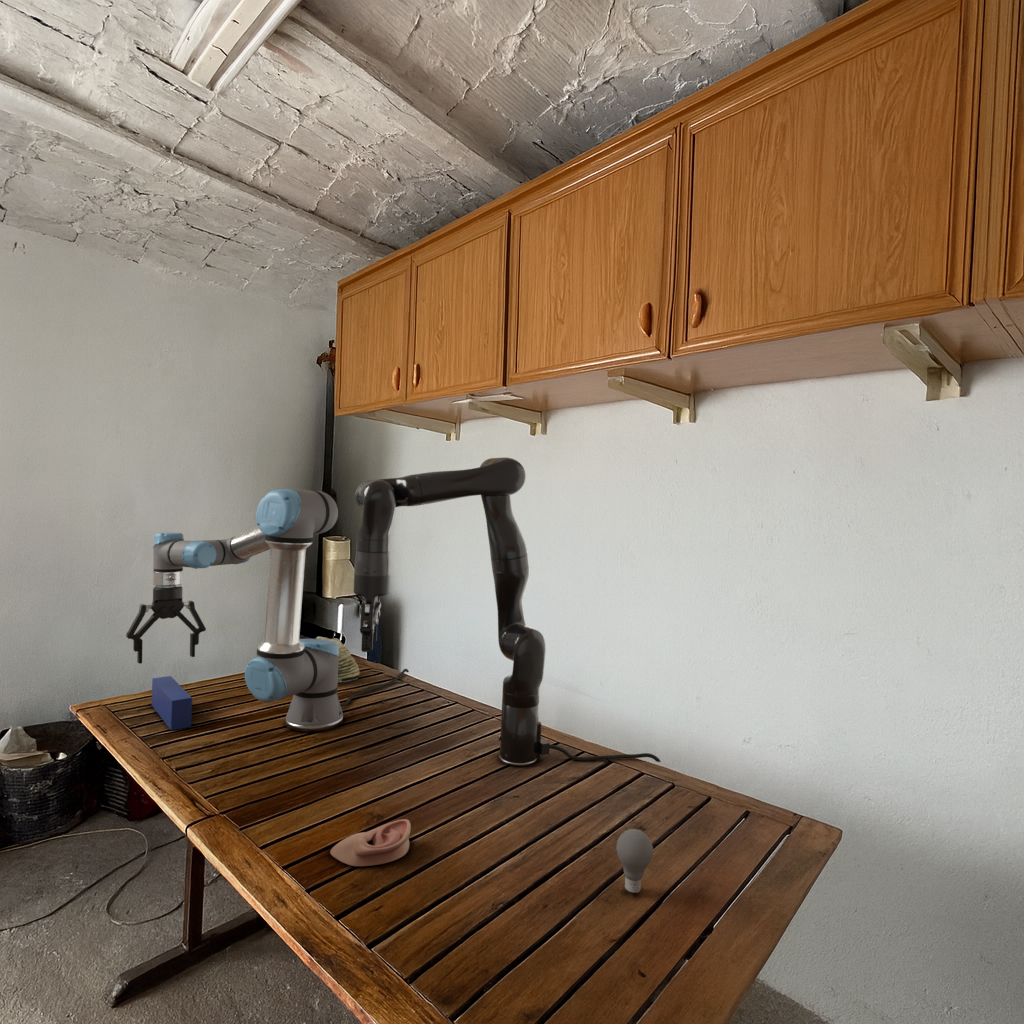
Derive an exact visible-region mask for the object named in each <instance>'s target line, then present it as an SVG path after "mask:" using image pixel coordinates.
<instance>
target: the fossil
mask: <svg viewBox="0 0 1024 1024" xmlns="http://www.w3.org/2000/svg"><path fill="white" fill-rule="evenodd" d="M315 639H322V640H329V641H333V642H335V643H337V645H338V647H339V664H338V683H347V682H351V681H355V680H358V679H359V677H360V675H361V672H360V668H359V665H358V663H357V662H356V659H355V658H354V657H353V656H352V654H351V652H350V650H349V649H348V648H347V646H346V645H345V644H344V643H342V641H341V640H340V639H339V638H336V637H334V638H328V637H326V636H325V637H323V636H317V637H315Z"/></svg>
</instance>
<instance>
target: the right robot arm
mask: <svg viewBox="0 0 1024 1024" xmlns="http://www.w3.org/2000/svg"><path fill="white" fill-rule="evenodd" d="M526 480H527V474H526V470H525V468H524V466H523V465H522V464H521V462H519V461H518V460H517V459H515V458H511V457H490V458H488V459H485V460H484V461H482V463H481V464H480V466H477V467H475V468H467V469H457V470H456V469H455V470H440V471H439V470H438V471H429V472H422V473H414V474H409V475H408V474H407V475H404V476H400V477H393V478H392V477H391V478H379V479H369V480H365V481H364V482H362V483H361V484H359V485H358V487H357V488H356V490H355V493H354V500H355V503H356V505H357V506H358V507H359V509H361V510H363V512H362V519H361V524H360V525H359V526H358V528H357V532H356V549H355V550H356V551H355V558H354V568H353V569H354V570H353V593H354V594H355V595H357V596H362V597H364V598H363V601H362V602H361V603H360V606H359V607H360V617H359V621H360V628H359V632H360V633H361V649H360V650H361V652H363V653H371V652H372V651H373V647H374V646H373V645H374V644H375V643H376V642H377V641H378V625H379V621H380V617H381V608H382V602H381V601H380V599H381V597H383V596H388V595H389V593H390V578H391V558H390V557H391V555H390V549H391V547H390V546H391V545H390V544H391V529H392V526H393V520H394V516H395V512H396V508H399V507H418V506H424V505H429V504H435V503H441V502H447V501H451V500H457V499H461V498H467V497H474V496H480V497H481V502H482V505H483V511H484V515H485V521H486V522H485V523H486V530H487V537H488V544H489V553H490V564H491V572H492V576H493V583H494V592H495V600H496V607H497V637H498V646H499V650H500V652H501V654H502V656H504V657H505V658H506V659H508V660H510V661H511V662H513V664H512V672H511V674H509V675H507V676H505V677H504V678H503V680H502V692H501V693H502V694H501V695H502V696H501V718H500V720H501V721H500V736H499V737H498V742H499V754H498V755H499V756H498V759H499V761H500V762H502V763H503V764H505V765H508V766H511V767H527V766H528V767H529V766H531V765H534V764H536V762H539V761H541V756H546V755H550V749H552V750H555V751H558V752H561V753H562V754H564V755H565V756H566V757H567V758H568V759H570V760H573V761H578V762H591V761H601V760H604V761H605V760H620V759H643V758H650V759H652V760H654V761H655V762H657V763H661V762H662V761H661V759H660V758H659V757H657V756H656V755H655V754H653V753H648V752H644V753H643V752H641V753H636V754H635V753H629V754H628V753H626V754H625V753H624V754H611V755H610V754H607V755H592V756H577V755H573V754H571V753H570V752H568V751H567V750H566V749H565V748H563V747H561V746H559V745H555V744H551V743H550V742H549V741H548V740H546V739H545V738H544V737H542V722H541V721H540V720H539V717H540V716H539V714H540V713H539V712H540V711H539V710H540V690H541V685H542V682H543V680H544V675H545V666H546V657H547V655H546V653H547V643H546V638H545V636H544V634H543V633H542V632H541V631H540V630H538V629H536V628H533V627H530V626H527V623H526V619H525V612H524V598H525V594H526V590H527V587H528V584H529V580H530V576H531V569H530V568H531V567H530V560H529V551H528V547H527V543H526V540H525V538H524V536H523V533H522V531H521V530H520V527H519V525H518V523H517V521H516V519H515V515H514V514H513V513H514V512H513V508H512V500H511V496H513V495H515V494H517V493H518V492H520V491H521V490H522V489H523V487H524V485H525V483H526Z"/></svg>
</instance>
